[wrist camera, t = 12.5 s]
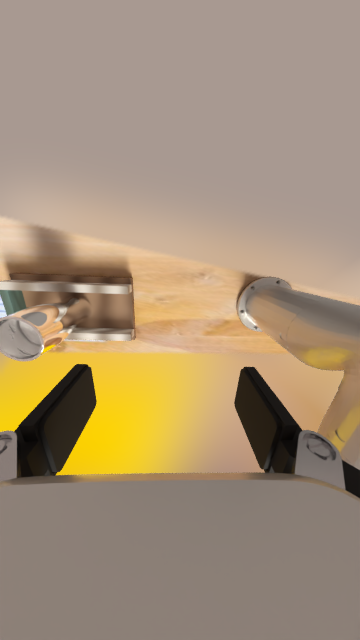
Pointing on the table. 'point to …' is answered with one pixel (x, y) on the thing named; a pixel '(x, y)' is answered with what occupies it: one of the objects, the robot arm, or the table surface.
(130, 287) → the track board
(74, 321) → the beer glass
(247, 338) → the table surface
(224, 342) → the table surface
